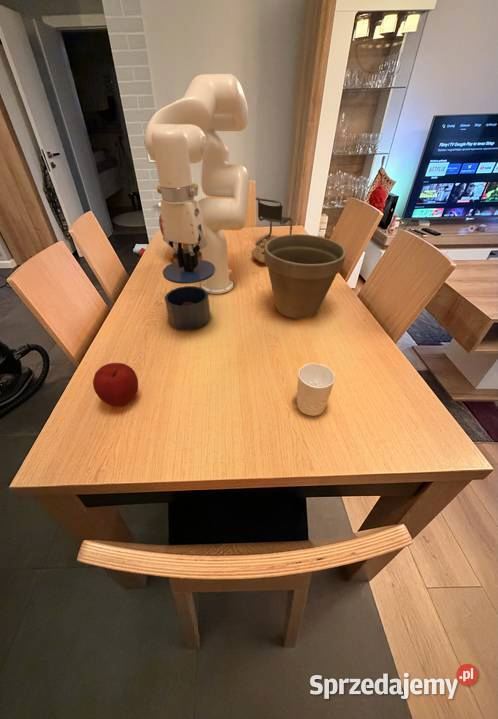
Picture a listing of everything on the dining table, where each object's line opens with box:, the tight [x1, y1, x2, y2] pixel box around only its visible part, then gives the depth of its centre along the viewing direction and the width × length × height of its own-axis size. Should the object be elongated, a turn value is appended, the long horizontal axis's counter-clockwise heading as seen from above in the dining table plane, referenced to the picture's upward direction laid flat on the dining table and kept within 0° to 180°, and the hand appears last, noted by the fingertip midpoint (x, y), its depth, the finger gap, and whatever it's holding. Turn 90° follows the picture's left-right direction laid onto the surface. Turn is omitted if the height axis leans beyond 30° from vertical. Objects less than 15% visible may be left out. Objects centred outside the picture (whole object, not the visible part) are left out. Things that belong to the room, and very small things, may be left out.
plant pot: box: [264, 233, 347, 320], centre depth 99 cm, size 25×25×22 cm
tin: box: [164, 285, 211, 331], centre depth 98 cm, size 14×14×8 cm
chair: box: [255, 196, 293, 246], centre depth 149 cm, size 13×17×22 cm
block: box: [181, 301, 196, 306], centre depth 99 cm, size 4×4×4 cm
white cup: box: [296, 362, 336, 417], centre depth 69 cm, size 8×8×10 cm
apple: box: [92, 362, 139, 408], centre depth 70 cm, size 10×10×10 cm
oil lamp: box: [251, 238, 268, 264], centre depth 135 cm, size 11×15×8 cm
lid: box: [162, 249, 215, 285], centre depth 83 cm, size 15×15×6 cm
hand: (188, 266), depth 83 cm, fingers closed on lid, 2 cm apart
